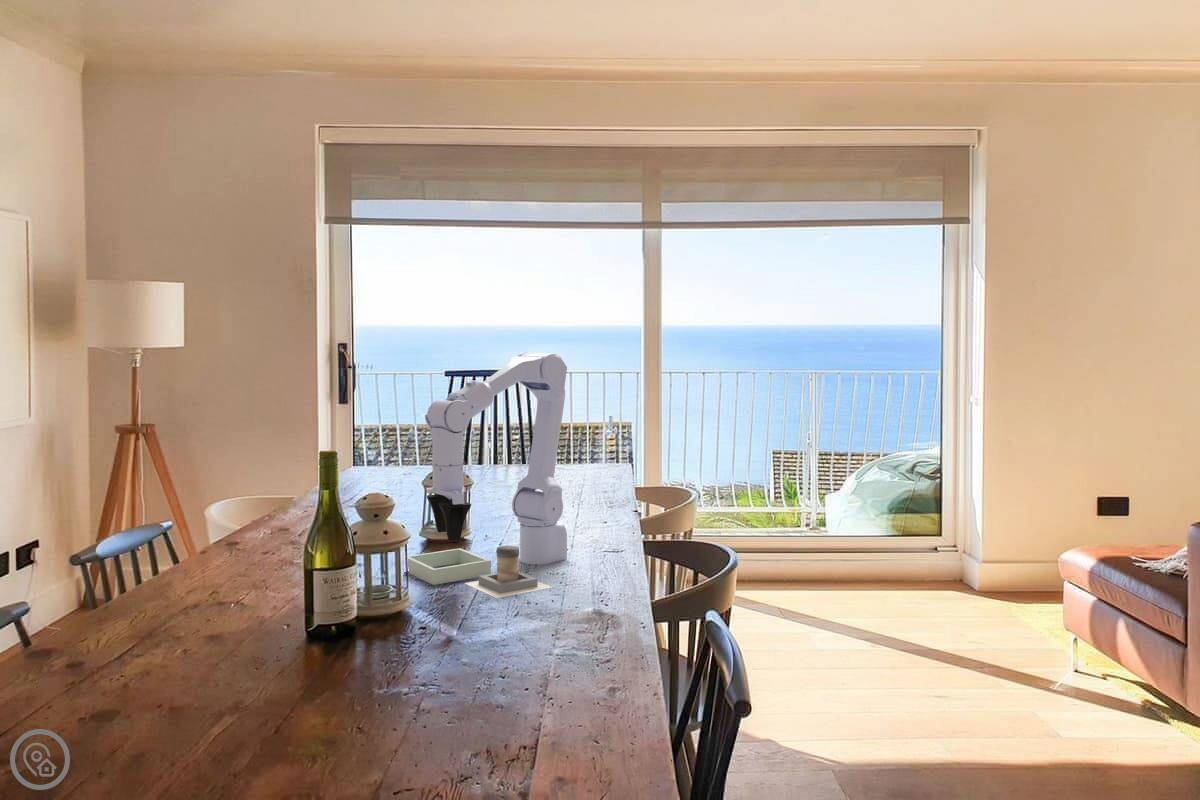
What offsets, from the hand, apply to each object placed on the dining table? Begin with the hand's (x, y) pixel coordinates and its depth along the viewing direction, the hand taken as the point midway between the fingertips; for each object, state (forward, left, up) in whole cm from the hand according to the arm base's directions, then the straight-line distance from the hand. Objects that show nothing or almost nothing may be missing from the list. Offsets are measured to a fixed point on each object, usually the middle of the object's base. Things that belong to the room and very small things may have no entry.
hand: (448, 535), depth 176 cm
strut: (-8, +8, -9) cm, 15 cm away
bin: (-3, -6, -10) cm, 12 cm away
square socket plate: (-8, +8, -10) cm, 15 cm away
